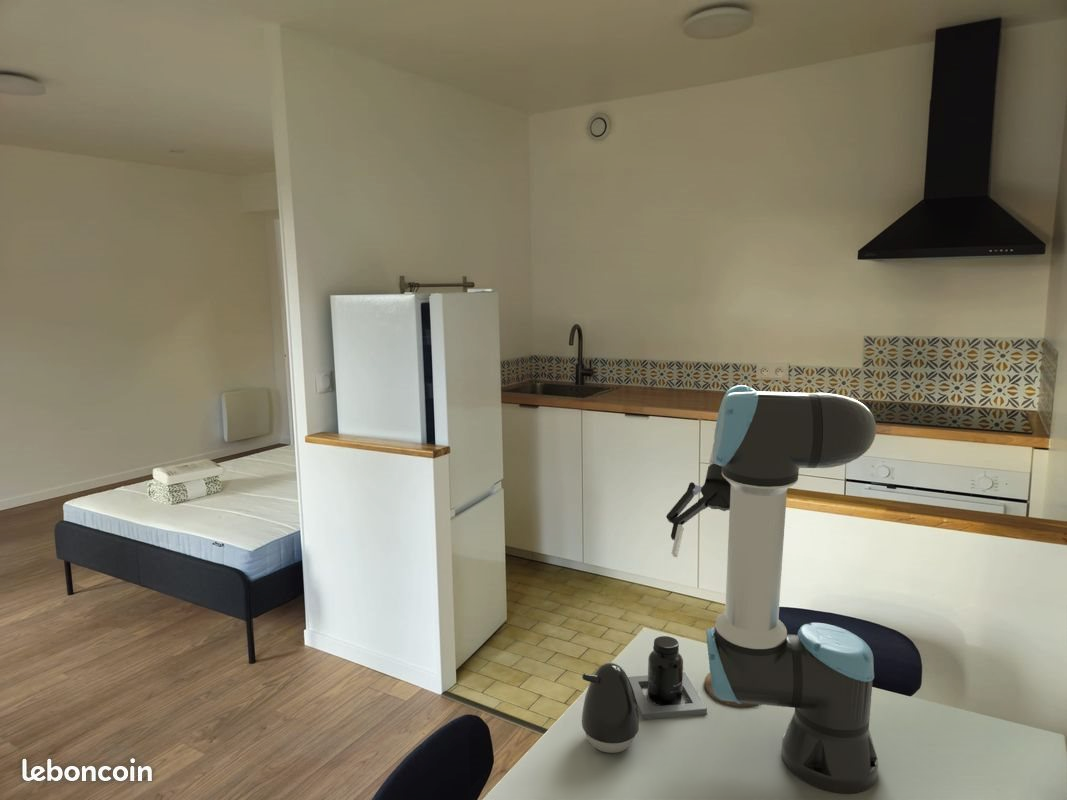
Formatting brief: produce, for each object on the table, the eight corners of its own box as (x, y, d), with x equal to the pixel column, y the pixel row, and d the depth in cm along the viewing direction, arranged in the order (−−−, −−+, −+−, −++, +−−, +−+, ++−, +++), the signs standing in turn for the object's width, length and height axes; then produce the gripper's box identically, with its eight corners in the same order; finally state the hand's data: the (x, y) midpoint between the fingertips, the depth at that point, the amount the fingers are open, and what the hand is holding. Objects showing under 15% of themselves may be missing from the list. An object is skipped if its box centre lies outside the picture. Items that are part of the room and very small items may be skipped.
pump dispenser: (572, 731, 128) (572, 655, 125) (624, 720, 131) (624, 646, 128) (593, 767, 118) (593, 686, 116) (648, 755, 121) (650, 675, 119)
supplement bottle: (682, 709, 134) (683, 652, 132) (646, 706, 135) (647, 649, 133) (682, 689, 141) (683, 634, 139) (648, 686, 142) (649, 631, 140)
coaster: (776, 703, 136) (777, 699, 135) (717, 708, 134) (717, 704, 134) (750, 670, 147) (750, 666, 147) (696, 674, 146) (696, 670, 146)
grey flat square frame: (706, 714, 133) (707, 708, 132) (642, 719, 131) (642, 714, 131) (684, 677, 145) (685, 672, 145) (626, 682, 143) (626, 677, 143)
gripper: (786, 484, 150) (770, 580, 142) (673, 466, 161) (652, 554, 153) (784, 471, 143) (767, 570, 136) (667, 453, 155) (644, 544, 147)
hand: (706, 562), depth 144 cm, fingers open, 13 cm apart
